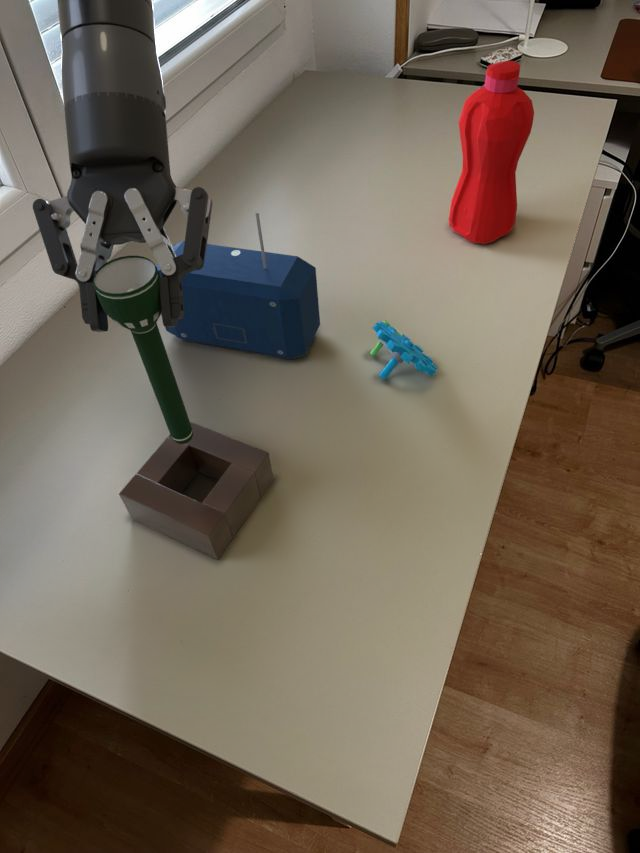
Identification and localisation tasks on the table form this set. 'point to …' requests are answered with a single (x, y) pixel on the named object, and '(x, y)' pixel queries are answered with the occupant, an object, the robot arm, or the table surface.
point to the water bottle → (491, 155)
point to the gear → (400, 350)
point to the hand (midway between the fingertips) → (135, 327)
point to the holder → (222, 508)
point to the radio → (250, 301)
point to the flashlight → (144, 330)
